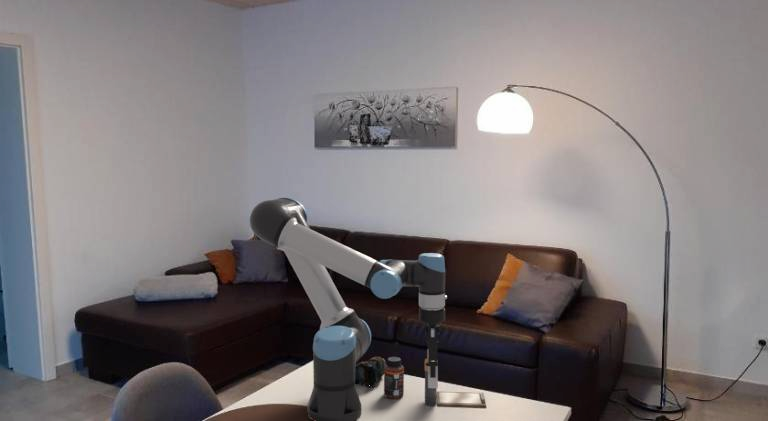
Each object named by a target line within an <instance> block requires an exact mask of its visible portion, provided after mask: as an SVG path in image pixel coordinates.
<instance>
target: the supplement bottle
mask: <svg viewBox="0 0 768 421" xmlns="http://www.w3.org/2000/svg"><path fill="white" fill-rule="evenodd" d="M383 379H384V380H383V394H384V397H386V398H389V399H400V398H402V397H403V396H404V392H405V391H404V390H405V389H404V388H405V384H404V383H405V382H404V380H405V367H404V365H402V359H401V358H400V357H397V356H391V357H390V356H389V357H388V358H387V364H386V366H385V368H384V375H383Z"/></svg>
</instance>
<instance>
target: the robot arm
mask: <svg viewBox="0 0 768 421" xmlns="http://www.w3.org/2000/svg"><path fill="white" fill-rule="evenodd" d="M249 225H250V229H251V231H252V232H253V234H254V235H255V236H256V237H257V238H259V239H260V240H262V241H263V242H264V243H267V244H268V245H271V246H274V247H276V249H277V250H279V251H283V252H284V255H285V256H286V257H287V260H288V262H289V264H290V265H291V267H292V268H293V271H294V272H295V274H296V276H297V278H298V279H299V282H300V283H301V285H302V287H303V289H304V291H305V294H306V295H307V296H308V298H309V300H310V302H311V304H312V306H313V308H314V310H315V311H316V314H317V315H318V317H319V319H320V321H321V323H320V326H319V329H318V331H317V332H316V333H315V335H314V338H313V344H312V351H313V352H312V355H313V356H312V357H313V360H312V365H313V388H312V390H311V394H310V397H309V400H308V403H307V413H308V415H309V417H310V418H312V419H313V420H316V421H356V420H358V419H359V418H360V417H361V415H362V403H361V399H360V396H359V393H358V390H357V387H356V384H355V365H356V364H358V361H359V360H360V359H361V358H362V357H363V356H364V355H365V354H366V353H367V351H368V350H369V347H370V345H371V341H372V332H371V329H370V327H369V325H368V324H367V322H366V321H364V319H361V318H360V317H359V316H358V315H357V314H356V311H355V310H354V309H353V308H349V307H348V306H347V305H346V303H345V301H344V299H343V297H342V296H341V294H340V293H339V291H338V289H337V286H336V285H335V283H334V282H333V279H332V277H331V276H330V273H329V272H328V270H327V269H330V270H331V271H333V272H336V273H338V274H340V275H342V276H344V277H345V278H348V279H350V280H353V281H354V282H356V283H358V284H361V285H363V286H364V287H367V288H369V289H370V290H371V291H372V293H373V294H374V295H375V296H376V297H377V298H379V299H385V300H386V299H391V298H393V296H394V297H395V296H396V295H397V294H398V293H399V292H400V291H401V289H402V288H403V287H418V306H419V309H418V319H419V321H420V322H422V323H426V324H427V325H424V327H425V332H424V333H425V335H426V339H425V340H426V343H427V350H426V352H427V353H426V354H427V358H428V363H426V366H428V388H437V389H438V388H439V387H438V385H439V384H438V382H439V381H438V379H439V374H438V372H439V370H438V369H439V368H438V367H439V363H437V360H438V349H439V339H440V338H439V335H440V325H437V324H441V323H443V322H445V320H446V308H445V306H446V300H447V299H448V295H446V267H445V266H446V263H445V261H446V260H445V257H444V255H443V254H440V253H435V252H429V253H428V252H427V253H426V252H424V253H421V254H419V255H418V258H417V259H418V260H417V259H416V260H410V259H409V260H403V259H401V260H400V259H381V260H379V261H378V260H376V259H374V258H372V257H370V256H368V255H366V254H364V253H361V252H359V251H357V250H355V249H353V248H351V247H349V246H346V245H344V244H342V243H341V242H338V241H336V240H335V239H332V238H330V237H328V236H325V235H324V234H321V233H319V232H318V231H316V230H313V229H311V228H310V226H309V224H308V212H307V210H306V208H305V206H304V205H303V204H302V203H301V202H300V201H298V200H297V199H294V198H289V197H279V198H276V199H269V200H268V199H267V200H263V201H261V202H259V203H258V204H257V205H256V206H254V207H253V209H252V210H251V213H250V216H249ZM427 358H426V359H427ZM430 361H435V362H430ZM308 415H307V416H308ZM309 417H308V418H309Z"/></svg>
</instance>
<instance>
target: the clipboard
mask: <svg viewBox="0 0 768 421" xmlns="http://www.w3.org/2000/svg"><path fill="white" fill-rule="evenodd" d="M484 394H485V393H484V392H470V391H469V392H466V391H465V392H464V391H462V392H461V391H460V392H459V391H438V390H437V394H436V406H437V407H461V408H463V407H464V408H487V402H486V398H485V395H484Z"/></svg>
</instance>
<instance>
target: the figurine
mask: <svg viewBox="0 0 768 421" xmlns="http://www.w3.org/2000/svg"><path fill="white" fill-rule="evenodd" d="M386 363H387V362H386V360H385V359H384V358H382V357H380V356H374V357H372V358H370V359H368V360H367V361H360V362H359V363H356V365H355V386H356V385H360V386H366V387H370V388H374V387H375V385H376V384H375V383H377V382H378V380H380V379H382V378H383V377H384V368H385V366H386V365H387V364H386ZM369 385H370V386H369Z"/></svg>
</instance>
